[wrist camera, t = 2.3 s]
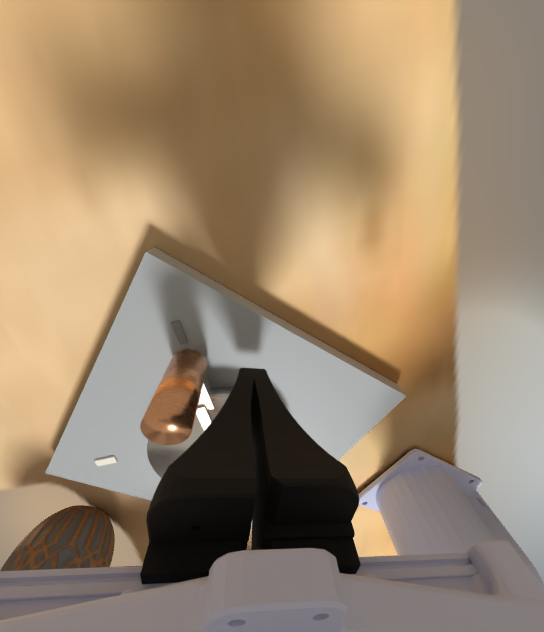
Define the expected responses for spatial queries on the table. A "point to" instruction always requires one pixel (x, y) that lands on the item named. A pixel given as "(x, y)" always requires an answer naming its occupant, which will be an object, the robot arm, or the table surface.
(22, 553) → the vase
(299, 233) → the table surface
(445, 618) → the robot arm
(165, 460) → the dial
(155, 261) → the board
